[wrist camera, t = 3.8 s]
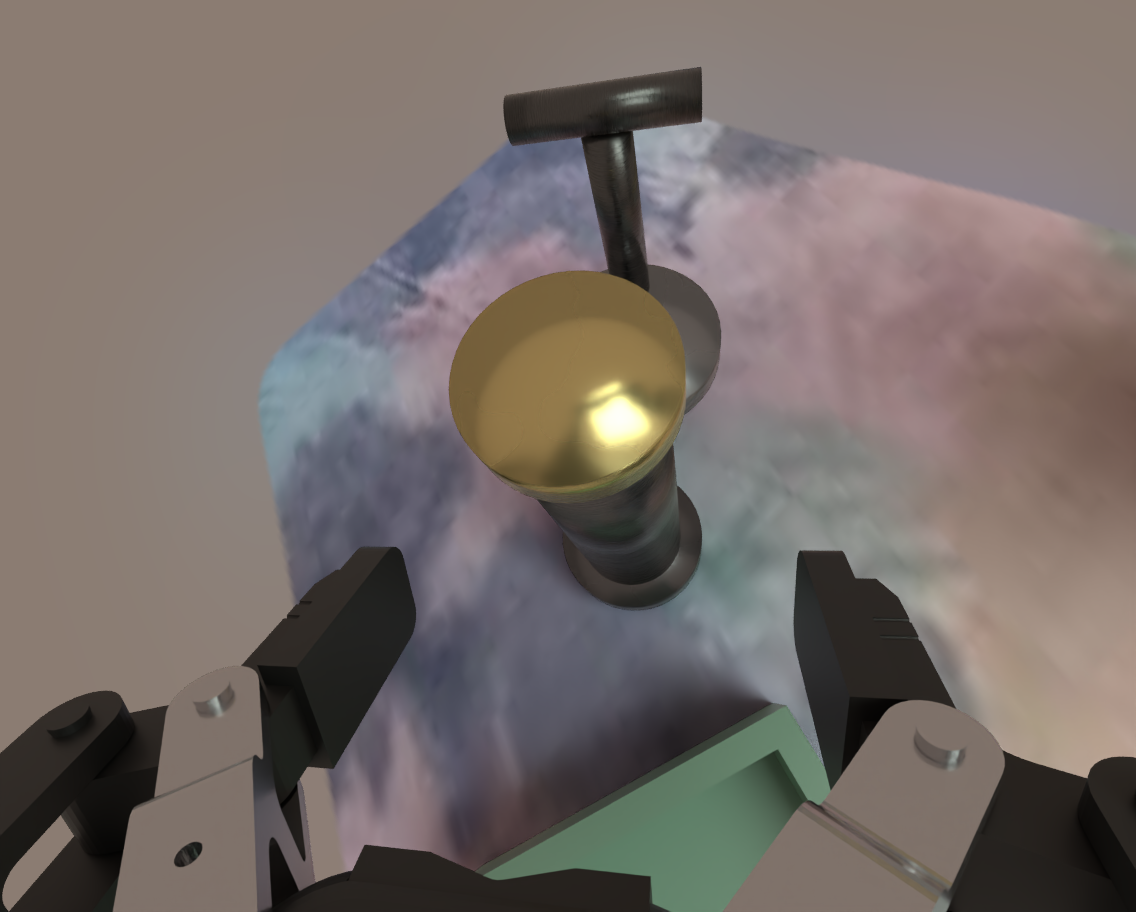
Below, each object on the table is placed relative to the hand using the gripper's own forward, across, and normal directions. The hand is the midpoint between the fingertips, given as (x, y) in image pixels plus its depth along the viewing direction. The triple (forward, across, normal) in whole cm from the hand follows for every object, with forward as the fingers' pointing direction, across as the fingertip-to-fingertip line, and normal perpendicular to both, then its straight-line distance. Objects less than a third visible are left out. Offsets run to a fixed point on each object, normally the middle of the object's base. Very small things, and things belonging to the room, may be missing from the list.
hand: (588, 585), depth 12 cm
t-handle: (+14, 0, 0) cm, 14 cm away
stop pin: (+9, 0, +5) cm, 10 cm away
